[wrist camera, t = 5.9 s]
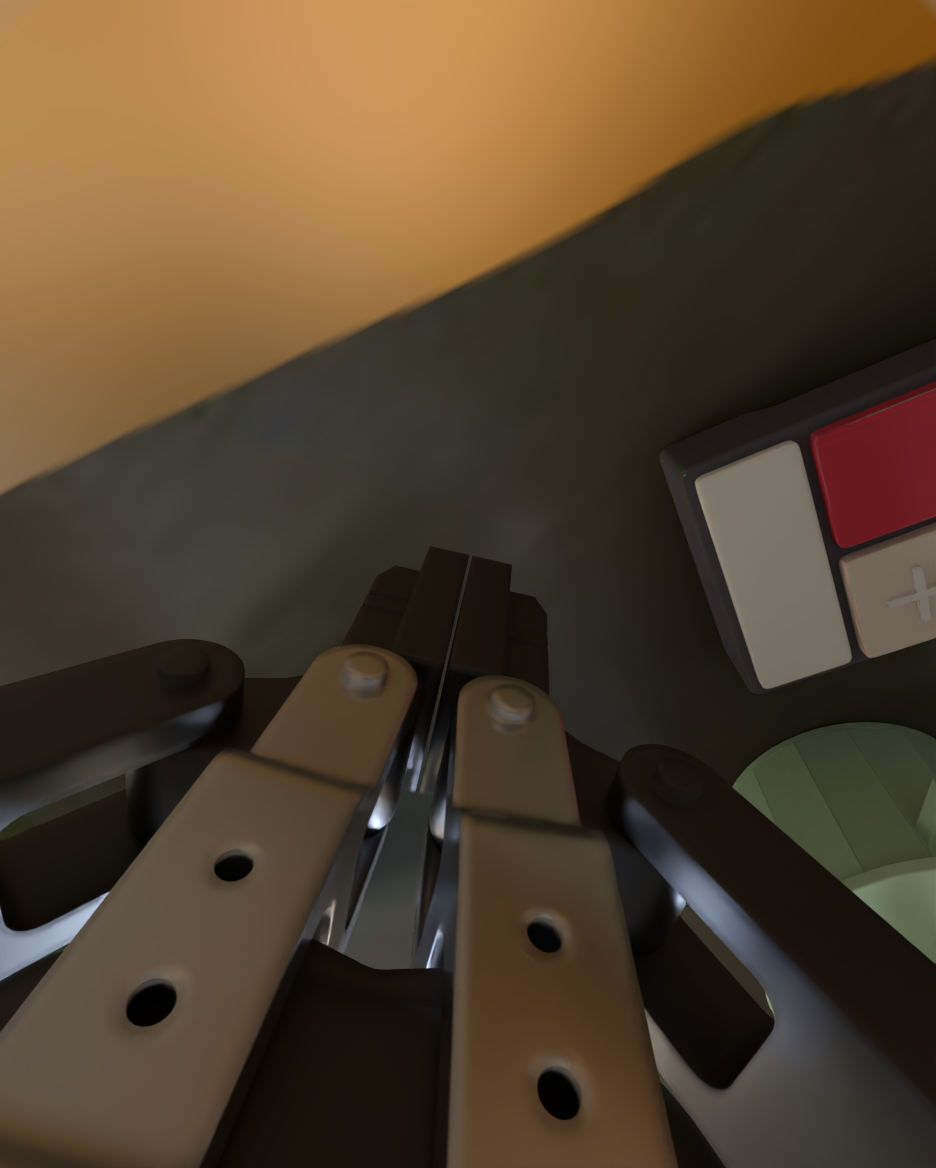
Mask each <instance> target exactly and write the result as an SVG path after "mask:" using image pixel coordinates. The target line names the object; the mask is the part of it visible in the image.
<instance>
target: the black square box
mask: <svg viewBox="0 0 936 1168" xmlns="http://www.w3.org/2000/svg"><path fill="white" fill-rule="evenodd" d="M660 462H661V466H662V469H663V472H664V475H665V477H666V480H667V483H668V486H669V489H670V492H671V495H672V498H673V501H674V504H675V507H676V509H677V512H678V515H679V518H680V521H681V524H682V527H683V530H684V533H685V536H686V539H687V541H688V544H689V547H690V550H691V553H692V556H693V559H694V562H695V565H696V568H697V571H698V573H699V576H700V579H701V582H702V585H703V588H704V591H705V594H706V597H707V600H708V603H709V605H710V608H711V611H712V614H713V617H714V620H715V623H716V626H717V629H718V632H719V635H720V637H721V640H722V643H723V646H724V649H725V651H726V652H727V654H728V656H729V657H730V659H731V661H732V662H733V664H734V666H735V667H736V669H737V671H738V672H739V674H740V675H741V677H742V679H743V680H744V682H745V684H746V685H747V687H748V688H749V690H750V691H751V692H752V693H755V694H762V693H766V692H769V691H772V690H775V689H778V688H781V687H784V686H788V685H791V684H794V683H797V682H800V681H803V680H806V679H809V678H812V677H815V676H819V675H822V674H825V673H828V672H831V671H834V670H837V669H840V668H843V667H846V666H849V665H853V664H856V663H859V662H862V661H865V660H868V659H871V658H874V657H878V656H881V655H884V654H887V653H890V652H894V651H897V650H900V649H903V648H906V647H909V646H912V645H915V644H918V643H921V642H924V641H928V640H931V639H934V638H936V339H933V340H931V341H929V342H926V343H924V344H921V345H919V346H917V347H914V348H912V349H909V350H907V351H905V352H902V353H900V354H898V355H895V356H893V357H890V358H888V359H886V360H883V361H881V362H878V363H876V364H874V365H871V366H869V367H867V368H864V369H862V370H859V371H857V372H855V373H852V374H850V375H848V376H845V377H843V378H840V379H838V380H836V381H833V382H831V383H828V384H826V385H824V386H821V387H819V388H817V389H814V390H812V391H809V392H807V393H805V394H802V395H800V396H797V397H795V398H793V399H790V400H788V401H786V402H783V403H781V404H778V405H776V406H773V407H769V408H765V409H761V410H757V411H753V412H750V413H746V414H743V415H741V416H738V417H736V418H733V419H731V420H729V421H726V422H724V423H721V424H719V425H717V426H714V427H712V428H709V429H707V430H705V431H702V432H700V433H698V434H695V435H693V436H690V437H688V438H686V439H683V440H681V441H679V442H676V443H674V444H672V445H669V446H667V447H666V448H664V449H663V450H662V451H661V453H660Z"/></svg>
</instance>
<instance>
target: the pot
mask: <svg viewBox="0 0 936 1168" xmlns="http://www.w3.org/2000/svg"><path fill="white" fill-rule="evenodd" d="M732 787H733V788H734V789H735V790H736V791H737V792H738V793H740V794H741V795H742V796H743V797H744V798H745V799H746V800H748V801H749V802H750V803H751V804H752V805H753V806H755V807H756V808H757V809H758V810H759V811H760V812H761V813H763V814H764V815H765V816H766V817H767V818H768V819H769V820H771V821H772V822H773V823H774V824H775V825H776V826H777V827H779V828H780V829H781V830H782V831H783V832H784V833H786V834H787V835H788V836H789V837H790V838H791V839H792V840H794V841H795V842H796V843H797V844H798V845H799V846H800V847H802V848H803V849H804V850H805V851H806V852H807V853H809V854H810V855H811V856H812V857H813V858H814V859H815V860H817V861H818V862H819V863H820V864H821V865H822V866H823V867H825V868H826V869H827V870H828V871H829V872H830V873H831V874H833V875H834V876H835V877H836V878H837V879H838V880H840V881H843V880H845V879H847V878H849V877H851V876H854V875H857V874H860V873H863V872H865V871H868V870H871V869H874V868H877V867H881V866H885V865H889V864H893V863H897V862H901V861H907V860H913V859H919V858H924V857H935V856H936V739H935V738H933V737H932V736H929V735H927V734H925V733H922V732H920V731H918V730H915V729H911V728H908V727H904V726H900V725H894V724H888V723H878V722H851V723H843V724H836V725H830V726H826V727H821V728H817V729H814V730H811V731H807V732H804V733H801V734H799V735H796V736H794V737H792V738H789V739H787V740H785V741H783V742H781V743H779V744H778V745H776V746H774V747H772V748H771V749H769V750H768V751H766V752H765V753H763V754H762V755H761V756H759V757H758V758H757V759H755V760H754V761H753V762H752V763H751V764H750V765H749V766H748V767H747V768H746V769H745V770H744V771H743V772H742V773H741V775H740V776H739V777H738V778H737V780H736V781H735V783H734V784H733V786H732Z"/></svg>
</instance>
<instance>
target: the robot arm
mask: <svg viewBox="0 0 936 1168" xmlns="http://www.w3.org/2000/svg"><path fill="white" fill-rule="evenodd" d="M468 558H469V555H466V554H462V553H458V552H453V551H449V550H444V549H440V548H436V547H431V546H430V547H429V550H428V553H427V555H426V558H425V561H424V563H423V566H422V569H421V571H417V570H413V569H408V568H404V567H399V566H394V567H392V568H390V569H388V570H386V571H385V572H383V573H381V574H379V575H378V576H377V577H376V579H375V581H374V583H373V585H372V587H371V589H370V591H369V594H368V595H367V597H366V598H365V600H364V602H363V606H361V608H360V610H359V612H358V614H357V616H356V618H355V620H354V622H353V624H352V626H351V628H350V630H349V632H348V634H347V636H346V638H345V640H344V641H343V643H342V645H341V646H339V647H336V648H332V649H330V650H328V651H326V652H324V653H322V654H321V655H320V656H318V657H317V658H316V660H315V661H314V662H313V663H312V665H311V666H310V668H309V669H308V670H307V672H306V673H305V675H302V676H297V677H290V678H244V677H245V669H244V665H243V662H242V660H241V659H240V658H239V656H238V655H237V654H236V653H234V652H233V651H232V650H230V649H228V648H227V647H225V646H222V645H220V644H217V643H213V642H209V641H204V640H195V639H178V640H170V641H165V642H160V643H156V644H152V645H149V646H145V647H142V648H138V649H134V650H131V651H127V652H123V653H120V654H116V655H112V656H109V657H105V658H102V659H98V660H94V661H91V662H87V663H83V664H80V665H76V666H73V667H69V668H65V669H62V670H58V671H54V672H51V673H47V674H43V675H40V676H36V677H33V678H29V679H25V680H22V681H18V682H14V683H11V684H7V685H3V686H0V831H1V830H2V829H3V828H4V827H6V826H7V825H8V824H9V823H11V822H12V821H13V820H15V819H17V818H18V817H20V816H22V815H24V814H26V813H28V812H30V811H33V810H35V809H38V808H40V807H43V806H45V805H48V804H50V803H53V802H55V801H58V800H60V799H63V798H65V797H68V796H70V795H73V794H75V793H78V792H80V791H83V790H85V789H88V788H90V787H93V786H95V785H98V784H100V783H102V782H105V781H107V780H110V779H112V778H115V777H117V776H120V775H122V774H125V780H126V789H125V790H122V791H120V792H118V793H115V794H113V795H111V796H108V797H106V798H103V799H101V800H99V801H96V802H94V803H91V804H89V805H87V806H84V807H82V808H80V809H77V810H75V811H72V812H70V813H68V814H65V815H63V816H61V817H58V818H56V819H53V820H51V821H49V822H46V823H44V824H41V825H39V826H37V827H34V828H32V829H30V830H27V831H25V832H22V833H20V834H18V835H15V836H13V837H10V838H8V839H5V840H3V841H0V980H1V981H0V1168H726V1167H725V1166H724V1164H723V1163H722V1161H721V1160H720V1158H719V1157H718V1156H717V1154H716V1153H715V1151H714V1150H713V1148H714V1149H715V1150H716V1152H717V1153H718V1155H719V1156H720V1157H721V1159H722V1160H723V1162H724V1163H725V1164H726V1166H727V1167H728V1168H936V964H935V963H934V962H933V961H931V960H930V959H929V958H928V957H927V956H926V955H924V954H923V953H922V952H921V951H920V950H919V949H918V948H916V947H915V946H914V945H913V944H912V943H911V942H910V941H908V940H907V939H906V938H905V937H904V936H903V935H902V934H900V933H899V932H898V931H897V930H896V929H895V928H893V927H892V926H891V925H890V924H889V923H888V922H887V921H885V920H884V919H883V918H882V917H881V916H880V915H879V914H877V913H876V912H875V911H874V910H873V909H872V908H871V907H869V906H868V905H867V904H866V903H865V902H864V901H862V900H861V899H860V898H859V897H858V896H857V895H856V894H854V893H853V892H852V891H851V890H850V889H849V888H848V887H846V886H845V885H844V884H843V883H842V882H841V881H840V880H838V879H837V878H836V877H835V876H834V875H833V874H831V873H830V872H829V871H828V870H827V869H826V868H825V867H823V866H822V865H821V864H820V863H819V862H818V861H817V860H815V859H814V858H813V857H812V856H811V855H810V854H809V853H807V852H806V851H805V850H804V849H803V848H802V847H800V846H799V845H798V844H797V843H796V842H795V841H794V840H792V839H791V838H790V837H789V836H788V835H787V834H786V833H784V832H783V831H782V830H781V829H780V828H779V827H777V826H776V825H775V824H774V823H773V822H772V821H771V820H769V819H768V818H767V817H766V816H765V815H764V814H763V813H761V812H760V811H759V810H758V809H757V808H756V807H755V806H753V805H752V804H751V803H750V802H749V801H748V800H746V799H745V798H744V797H743V796H742V795H741V794H740V793H738V792H737V791H736V790H735V789H734V788H733V787H732V786H730V785H729V784H728V783H727V782H726V781H725V780H724V779H722V778H721V777H720V776H719V775H718V774H717V773H715V772H714V771H713V770H712V769H711V768H709V767H708V766H707V765H706V764H704V763H703V762H701V761H700V760H698V759H697V758H695V757H693V756H691V755H689V754H687V753H685V752H683V751H680V750H678V749H675V748H672V747H668V746H663V745H656V744H646V745H640V746H636V747H634V748H632V749H630V750H628V751H627V752H626V753H625V754H624V756H623V758H622V760H621V762H620V761H617V760H615V759H613V758H611V757H609V756H607V755H605V754H602V753H600V752H598V751H596V750H594V749H592V748H590V747H588V746H586V745H584V744H583V743H581V742H580V741H578V740H576V739H575V738H574V737H573V736H571V735H570V734H569V733H568V732H567V731H566V730H565V729H564V724H563V718H562V714H561V711H560V709H559V707H558V705H557V704H556V703H555V701H554V700H553V699H552V698H551V697H550V696H549V671H548V648H547V645H548V641H547V614H546V612H545V611H544V610H543V608H542V607H541V605H540V604H539V603H538V601H537V600H536V598H535V597H532V596H528V595H523V594H519V593H514V592H510V582H511V569H512V565H511V564H506V563H502V562H498V561H493V560H489V559H485V558H480V557H476V556H473V557H472V561H471V565H470V569H469V574H468V578H467V582H466V587H465V591H464V595H463V600H462V604H461V609H460V613H459V617H458V622H457V626H456V630H455V635H454V639H453V644H452V648H451V652H450V657H449V661H448V666H447V670H446V675H445V680H444V684H443V689H442V693H441V698H440V702H439V707H438V711H437V716H436V720H435V725H434V730H433V734H432V739H431V743H430V748H429V752H428V757H427V761H426V766H425V771H424V775H423V780H422V784H421V789H420V793H421V794H426V795H430V796H433V800H432V805H431V810H430V815H429V820H428V824H427V828H426V832H425V836H424V840H423V845H422V855H421V865H420V875H419V884H418V894H417V904H416V914H415V923H414V933H413V943H412V952H411V962H410V969H392V970H379V969H374V968H370V967H368V966H365V965H363V964H361V963H359V962H357V961H355V960H353V959H352V958H350V957H348V956H346V955H344V951H345V948H346V945H347V942H348V939H349V937H350V934H351V931H352V928H353V926H354V923H355V920H356V917H357V915H358V912H359V909H360V906H361V904H362V901H363V898H364V895H365V892H366V890H367V887H368V884H369V881H370V879H371V876H372V873H373V870H374V868H375V865H376V862H377V859H378V856H379V854H380V851H381V848H382V845H383V843H384V840H385V837H386V833H387V829H388V824H389V821H390V820H391V818H392V817H393V815H394V814H395V811H396V808H397V805H398V801H399V797H400V793H401V789H402V790H407V791H411V792H415V790H416V786H417V782H418V777H419V773H420V768H421V764H422V760H423V755H424V751H425V747H426V742H427V738H428V733H429V729H430V725H431V720H432V716H433V712H434V707H435V703H436V698H437V694H438V690H439V685H440V681H441V677H442V672H443V668H444V664H445V659H446V655H447V650H448V646H449V642H450V637H451V633H452V628H453V624H454V620H455V615H456V611H457V606H458V602H459V597H460V593H461V589H462V584H463V580H464V575H465V571H466V567H467V562H468ZM686 903H688V904H689V906H690V907H691V908H692V909H693V910H694V911H695V912H696V913H697V914H698V915H699V916H700V918H701V919H702V920H703V921H704V922H705V923H706V924H707V925H708V926H709V927H710V929H711V930H712V931H713V932H714V933H715V934H716V935H717V936H718V937H719V938H720V939H721V941H722V942H723V943H724V944H725V945H726V946H727V947H728V948H729V949H730V950H731V951H732V953H733V954H734V955H735V956H736V957H737V958H738V959H739V960H740V961H741V962H742V963H743V965H744V966H745V967H746V968H747V969H748V970H749V971H750V972H751V973H752V974H753V976H754V977H755V978H756V979H757V980H758V981H759V983H760V984H761V986H762V987H763V988H764V990H765V992H766V994H767V995H768V997H769V1000H770V1002H771V1005H772V1008H773V1011H774V1018H775V1020H774V1019H773V1018H771V1017H770V1016H769V1015H768V1014H766V1013H765V1011H764V1010H763V1009H762V1008H761V1007H760V1006H759V1005H758V1004H757V1003H756V1002H755V1001H754V999H753V998H752V997H751V996H750V995H749V994H748V993H747V992H746V990H745V989H744V988H743V987H742V986H741V985H740V984H739V983H738V981H737V980H736V979H735V978H734V977H733V976H732V975H731V974H730V972H729V971H728V970H727V969H726V968H725V967H724V966H723V965H722V963H721V962H720V961H719V960H718V959H717V958H716V957H715V956H714V954H713V953H712V952H711V951H710V950H709V949H708V948H707V947H706V945H705V944H704V943H703V942H702V941H701V940H700V939H699V938H698V936H697V935H696V934H695V933H694V932H693V931H692V930H691V929H690V927H689V926H688V925H687V924H686V923H685V922H684V921H683V920H682V918H681V917H680V916H679V915H680V913H681V911H682V910H683V908H684V906H685V904H686ZM69 942H70V943H69ZM68 943H69V945H68V946H67V947H66V949H65V950H64V951H61V952H58V953H55V954H53V955H51V956H48V957H46V958H44V959H42V960H40V961H38V962H35V961H37V960H39V959H40V958H42V957H44V956H46V955H48V954H49V953H51V952H53V951H55V950H57V949H59V948H60V947H62V946H64V945H66V944H68ZM33 962H35V963H33ZM31 963H33V964H31ZM29 964H31V965H29ZM28 965H29V966H28ZM26 966H27V967H26ZM24 967H25V968H24ZM20 969H21V970H20ZM18 970H19V971H18ZM9 975H10V976H9ZM658 1071H659V1073H660V1074H661V1075H662V1077H663V1078H664V1080H665V1081H666V1082H667V1084H668V1085H669V1086H670V1088H671V1089H672V1091H673V1092H674V1093H675V1095H676V1096H677V1098H678V1099H679V1100H680V1102H681V1103H682V1105H683V1106H684V1107H685V1109H686V1110H687V1111H688V1113H689V1114H690V1116H691V1117H692V1118H693V1120H694V1121H695V1123H696V1124H697V1125H698V1127H699V1128H700V1129H699V1128H698V1127H697V1125H696V1124H695V1123H694V1121H693V1120H692V1118H691V1117H690V1116H689V1114H688V1113H687V1112H686V1111H685V1110H684V1108H683V1107H682V1106H681V1105H680V1104H679V1102H678V1101H677V1100H676V1099H675V1098H674V1096H673V1095H672V1094H671V1093H670V1092H669V1090H668V1089H667V1088H666V1087H665V1086H664V1085H663V1084H662V1083H661V1082H660V1080H659V1075H658ZM700 1130H701V1131H702V1132H703V1134H704V1135H705V1136H704V1135H703V1134H702V1132H701V1131H700ZM705 1137H706V1138H707V1139H708V1141H709V1142H710V1143H711V1145H712V1146H713V1148H712V1147H711V1145H710V1144H709V1142H708V1141H707V1139H706V1138H705Z"/></svg>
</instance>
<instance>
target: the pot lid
mask: <svg viewBox="0 0 936 1168" xmlns="http://www.w3.org/2000/svg"><path fill="white" fill-rule="evenodd" d="M841 882H842V883H843V884H844V885H845V886H846V887H848V888H849V889H850V890H851V891H852V892H853V893H854V894H856V895H857V896H858V897H859V898H860V899H861V900H862V901H864V902H865V903H866V904H867V905H868V906H869V907H871V908H872V909H873V910H874V911H875V912H876V913H877V914H879V915H880V916H881V917H882V918H883V919H884V920H885V921H887V922H888V923H889V924H890V925H891V926H892V927H893V928H895V929H896V930H897V931H898V932H899V933H900V934H902V935H903V936H904V937H905V938H906V939H907V940H908V941H910V942H911V943H912V944H913V945H914V946H915V947H916V948H918V949H919V950H920V951H921V952H922V953H923V954H924V955H926V956H927V957H928V958H929V959H930V960H931V961H933V962H934V963H935V964H936V856H935V857H924V858H919V859H913V860H907V861H901V862H897V863H893V864H889V865H885V866H881V867H877V868H874V869H871V870H868V871H865V872H863V873H860V874H857V875H854V876H851V877H849V878H847V879H845V880H843V881H841ZM763 989H764V988H763ZM764 992H765V990H764ZM765 995H766V998H767V1001H768V1004H769V1007H770V1009H771V1010H772V1012H773V1014H774V1011H773V1008H772V1005H771V1002H770V1000H769V997H768V995H767V994H766V992H765Z"/></svg>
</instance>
